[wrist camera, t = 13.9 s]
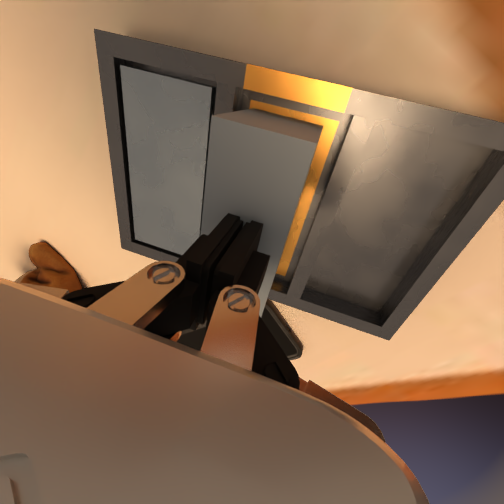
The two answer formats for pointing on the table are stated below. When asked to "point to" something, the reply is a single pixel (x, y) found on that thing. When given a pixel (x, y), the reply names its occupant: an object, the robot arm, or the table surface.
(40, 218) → the table surface
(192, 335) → the phone
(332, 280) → the gray divided tray
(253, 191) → the gray rectangular block
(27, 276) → the stuffed squirrel
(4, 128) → the table surface
